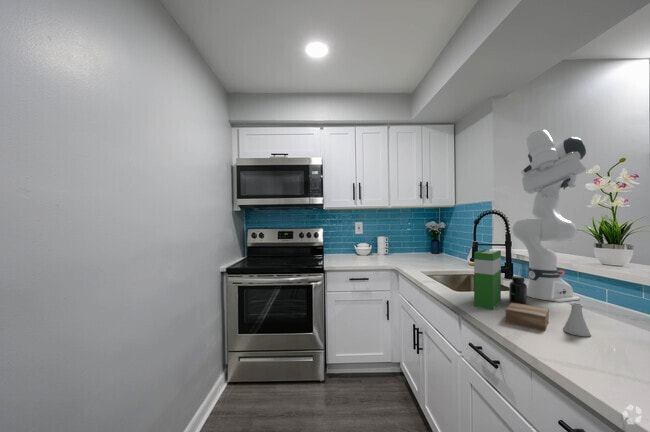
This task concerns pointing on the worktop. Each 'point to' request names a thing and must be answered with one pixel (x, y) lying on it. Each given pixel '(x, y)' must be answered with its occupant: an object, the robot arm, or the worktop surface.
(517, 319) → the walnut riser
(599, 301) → the worktop surface
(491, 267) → the hardback book
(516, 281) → the supplement bottle
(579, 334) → the flask
